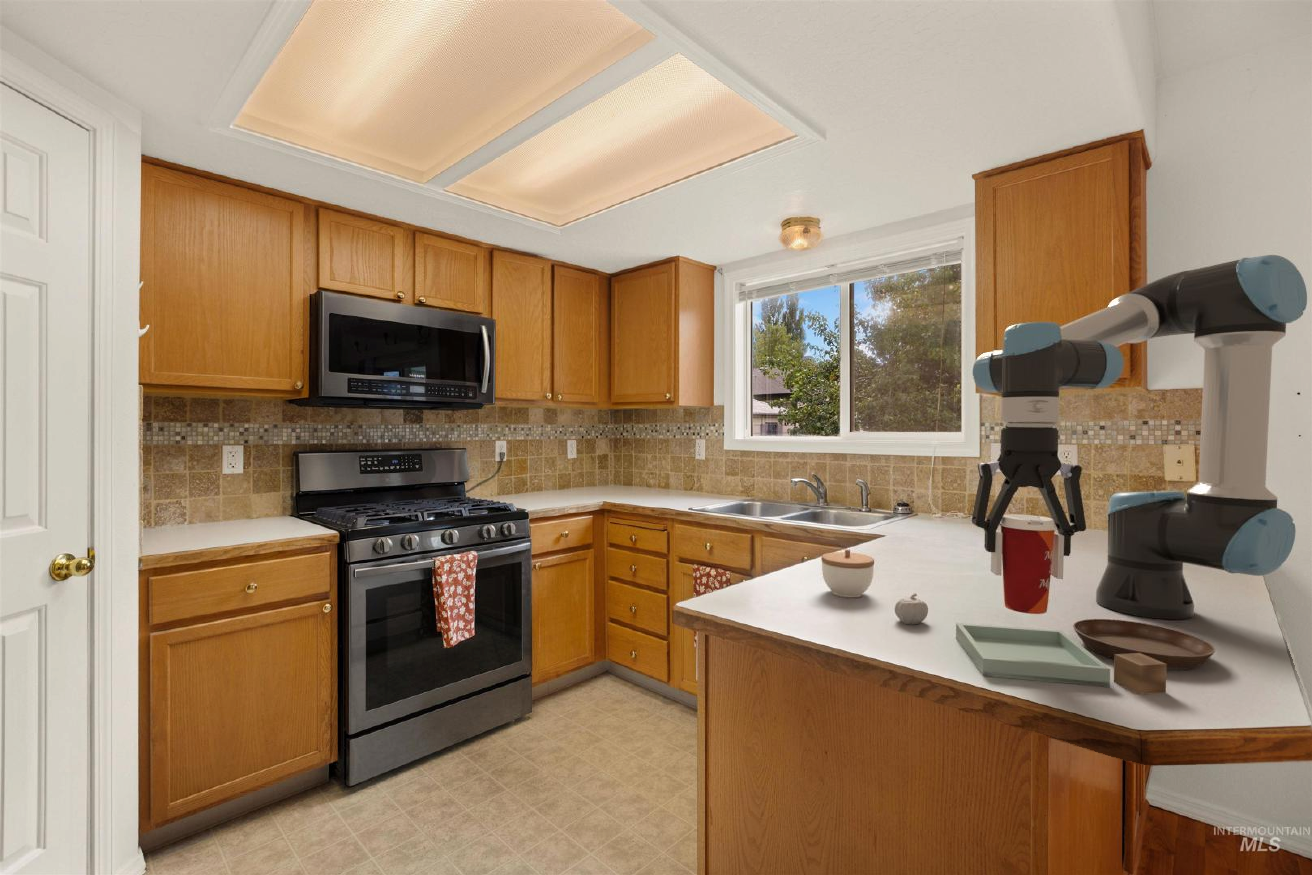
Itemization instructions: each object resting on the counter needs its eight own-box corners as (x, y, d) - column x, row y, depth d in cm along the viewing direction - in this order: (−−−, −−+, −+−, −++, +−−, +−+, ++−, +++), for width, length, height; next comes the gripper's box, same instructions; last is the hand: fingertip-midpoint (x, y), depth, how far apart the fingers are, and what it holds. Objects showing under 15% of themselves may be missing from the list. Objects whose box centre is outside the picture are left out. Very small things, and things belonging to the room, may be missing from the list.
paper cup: (1064, 617, 90) (1066, 522, 90) (1006, 614, 92) (1008, 520, 91) (1042, 602, 98) (1044, 514, 97) (989, 599, 99) (991, 512, 99)
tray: (1062, 645, 101) (1062, 630, 101) (1109, 686, 85) (1110, 668, 85) (955, 637, 105) (956, 623, 104) (982, 675, 89) (983, 658, 89)
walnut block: (1139, 680, 88) (1139, 652, 87) (1165, 693, 84) (1166, 664, 84) (1113, 682, 87) (1114, 654, 87) (1139, 694, 83) (1140, 665, 83)
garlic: (914, 616, 116) (914, 588, 116) (935, 625, 111) (935, 596, 111) (887, 619, 114) (887, 591, 114) (907, 628, 109) (908, 599, 109)
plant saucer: (1089, 627, 111) (1090, 610, 111) (1222, 655, 98) (1223, 636, 97) (1058, 651, 99) (1058, 632, 99) (1204, 687, 86) (1205, 665, 86)
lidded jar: (879, 591, 133) (879, 548, 133) (866, 603, 124) (867, 557, 124) (829, 584, 139) (830, 542, 139) (814, 595, 130) (814, 551, 130)
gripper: (962, 425, 93) (959, 576, 93) (1118, 426, 88) (1114, 585, 89) (950, 425, 100) (947, 565, 101) (1094, 426, 95) (1090, 573, 96)
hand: (1026, 574), depth 95 cm, fingers closed on paper cup, 8 cm apart
